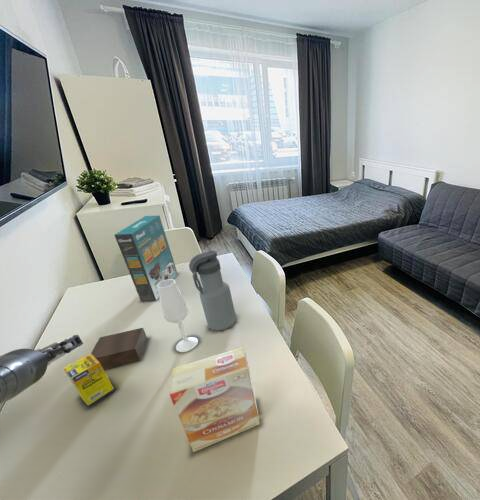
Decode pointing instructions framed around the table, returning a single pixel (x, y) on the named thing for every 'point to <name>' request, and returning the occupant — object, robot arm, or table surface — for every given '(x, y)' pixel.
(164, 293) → the champagne flute
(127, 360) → the block
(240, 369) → the coffeecake box
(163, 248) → the cake mix box
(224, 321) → the water bottle
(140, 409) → the table surface
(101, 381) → the supplement box
